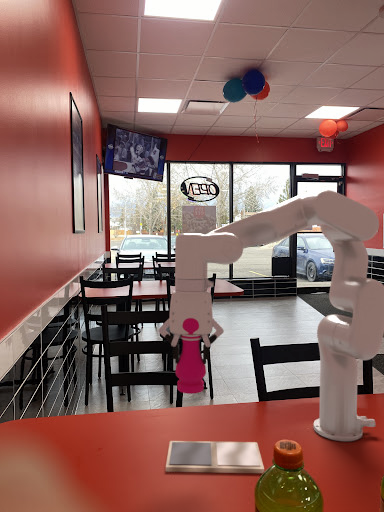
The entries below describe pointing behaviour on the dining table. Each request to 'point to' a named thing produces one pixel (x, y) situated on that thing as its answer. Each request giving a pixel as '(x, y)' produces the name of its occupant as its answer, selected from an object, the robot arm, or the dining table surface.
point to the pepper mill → (190, 360)
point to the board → (214, 457)
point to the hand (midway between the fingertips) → (190, 361)
